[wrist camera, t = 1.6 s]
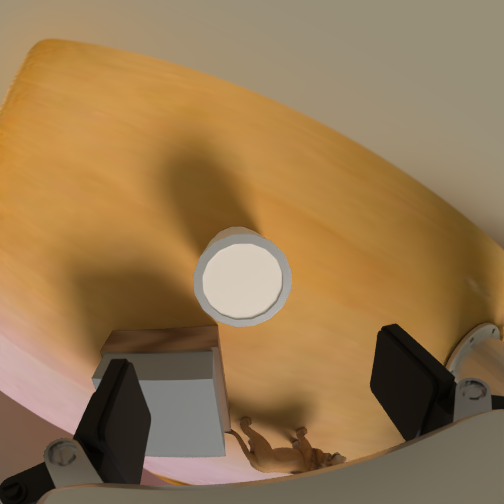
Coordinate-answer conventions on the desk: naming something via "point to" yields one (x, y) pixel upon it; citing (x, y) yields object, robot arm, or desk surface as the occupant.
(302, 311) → the desk surface
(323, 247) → the desk surface
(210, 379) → the top block
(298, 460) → the lion figurine
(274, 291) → the beige cup
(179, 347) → the base block
